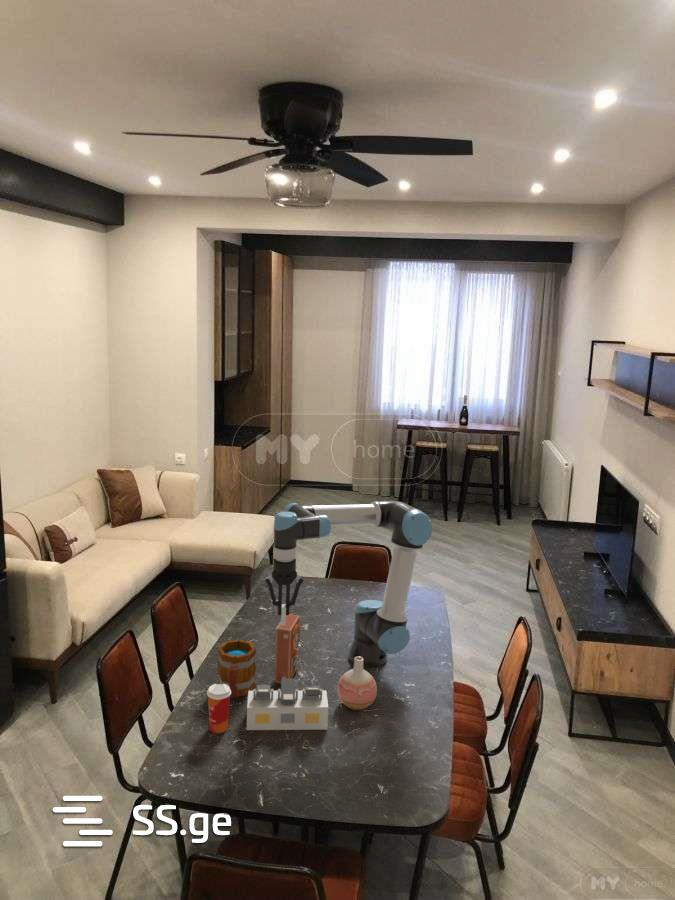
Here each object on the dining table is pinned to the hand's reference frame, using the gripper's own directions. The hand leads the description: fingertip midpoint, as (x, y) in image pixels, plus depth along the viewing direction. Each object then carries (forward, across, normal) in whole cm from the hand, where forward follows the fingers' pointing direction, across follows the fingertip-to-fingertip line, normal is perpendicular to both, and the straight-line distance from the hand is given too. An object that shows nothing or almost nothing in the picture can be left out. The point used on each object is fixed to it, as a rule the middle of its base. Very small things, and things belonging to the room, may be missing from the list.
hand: (283, 623), depth 240 cm
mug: (+28, +16, -4) cm, 33 cm away
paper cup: (+28, +20, +18) cm, 39 cm away
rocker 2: (+17, -2, +14) cm, 22 cm away
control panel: (+28, -2, -15) cm, 32 cm away
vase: (+28, -26, +5) cm, 39 cm away
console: (+28, -2, +14) cm, 31 cm away
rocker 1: (+17, +6, +14) cm, 23 cm away
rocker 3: (+17, -10, +14) cm, 24 cm away
